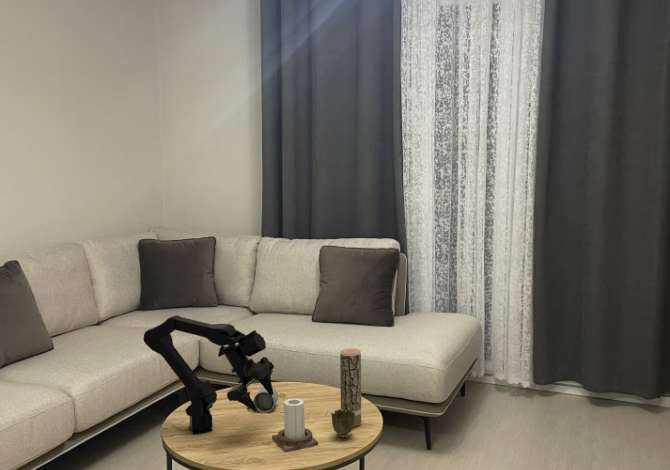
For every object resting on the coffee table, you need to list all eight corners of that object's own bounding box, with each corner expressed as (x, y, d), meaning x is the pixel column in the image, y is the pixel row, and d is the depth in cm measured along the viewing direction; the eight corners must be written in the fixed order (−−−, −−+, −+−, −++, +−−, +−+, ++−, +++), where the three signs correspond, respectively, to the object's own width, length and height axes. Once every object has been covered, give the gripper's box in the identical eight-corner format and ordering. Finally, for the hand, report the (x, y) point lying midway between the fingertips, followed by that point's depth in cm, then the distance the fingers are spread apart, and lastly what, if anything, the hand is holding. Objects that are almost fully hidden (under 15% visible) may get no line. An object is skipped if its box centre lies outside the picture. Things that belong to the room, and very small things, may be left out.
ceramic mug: (279, 404, 244) (278, 384, 243) (274, 413, 236) (274, 392, 235) (250, 404, 245) (249, 383, 244) (245, 412, 237) (244, 391, 236)
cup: (341, 430, 221) (341, 406, 220) (359, 436, 216) (359, 412, 215) (326, 438, 215) (326, 414, 214) (345, 444, 210) (344, 419, 209)
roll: (291, 444, 208) (290, 407, 207) (281, 437, 213) (280, 401, 212) (307, 439, 211) (307, 402, 210) (298, 433, 216) (297, 397, 215)
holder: (285, 452, 205) (284, 443, 205) (272, 438, 215) (272, 430, 215) (318, 444, 210) (317, 436, 210) (303, 432, 220) (303, 423, 219)
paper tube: (359, 429, 222) (358, 355, 218) (339, 427, 223) (338, 354, 220) (362, 420, 228) (362, 348, 225) (343, 419, 230) (342, 348, 226)
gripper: (237, 370, 203) (264, 414, 205) (272, 340, 218) (297, 381, 219) (215, 379, 210) (240, 421, 211) (250, 349, 225) (274, 389, 226)
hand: (264, 402), depth 217 cm, fingers open, 9 cm apart
